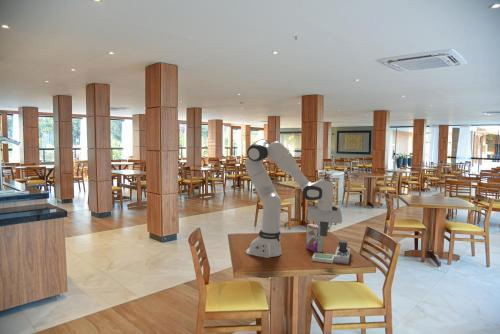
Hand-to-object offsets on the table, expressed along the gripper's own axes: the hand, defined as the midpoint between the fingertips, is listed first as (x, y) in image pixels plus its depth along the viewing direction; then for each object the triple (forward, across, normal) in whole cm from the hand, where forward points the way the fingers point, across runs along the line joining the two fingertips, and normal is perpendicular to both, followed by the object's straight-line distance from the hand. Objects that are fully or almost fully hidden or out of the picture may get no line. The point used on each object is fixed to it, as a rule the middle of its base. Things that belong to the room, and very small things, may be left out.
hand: (324, 229), depth 203 cm
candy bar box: (+19, -8, +17) cm, 27 cm away
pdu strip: (+18, +11, +7) cm, 23 cm away
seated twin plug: (+17, +11, +11) cm, 23 cm away
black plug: (+4, 0, 0) cm, 4 cm away
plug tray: (+19, 0, 0) cm, 19 cm away
